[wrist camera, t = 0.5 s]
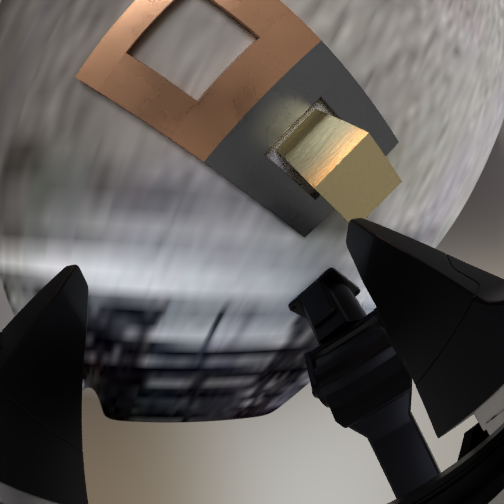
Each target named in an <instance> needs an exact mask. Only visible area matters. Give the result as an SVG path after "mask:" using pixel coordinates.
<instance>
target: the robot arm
mask: <svg viewBox="0 0 504 504" xmlns="http://www.w3.org/2000/svg"><path fill="white" fill-rule="evenodd" d="M346 244H347V247H348V250H349V252H350V254H351V256H352V258H353V261H354V263H355V265H356V267H357V270H358V272H359V274H360V277H361V279H362V281H363V283H364V285H365V287H366V288H367V290H368V292H369V294H370V296H371V297H372V299H373V301H374V303H375V305H376V308H375V309H373V310H374V311H372V312H371V313H369V314H368V315H366V313H365V311H364V310H363V308H362V307H361V305H360V303H359V302H358V300H357V299H356V296H357V295H358V294H359V293H360V289H359V288H358V287H357V286H356V285H355V284H353V283H352V282H351V281H349V280H348V279H347V278H346V277H344V276H343V275H342V274H341V273H339V272H338V271H337V270H335V269H334V268H329V269H328V270H327V271H326V272H324V273H323V274H322V275H321V276H320V277H319V278H318V279H317V280H316V281H315V282H313V283H312V284H311V285H310V286H309V287H308V288H307V289H306V290H305V291H303V292H302V293H301V294H300V295H299V296H298V297H297V298H296V299H294V300H293V301H292V302H291V303H290V304H289V309H290V310H291V311H293V312H295V313H297V314H299V315H301V316H303V317H305V318H307V319H308V321H309V323H310V326H311V328H312V330H313V332H314V334H315V336H316V338H317V341H318V343H319V345H320V346H318V347H316V348H315V349H313V350H311V351H308V352H306V353H304V355H305V359H306V361H305V362H306V366H307V370H308V374H309V378H310V382H311V386H312V394H313V396H314V397H316V398H319V399H320V401H321V402H322V403H323V404H324V405H325V406H326V407H330V409H331V411H332V414H333V416H334V419H335V421H336V422H337V423H339V424H340V425H341V426H343V427H345V428H347V427H349V428H351V429H353V430H354V431H356V432H358V433H360V434H362V435H364V436H365V437H367V438H368V440H369V442H370V444H371V446H372V448H373V450H374V452H375V455H376V456H377V459H378V460H379V462H380V465H381V467H382V469H383V471H384V473H385V475H386V477H387V480H388V482H389V483H390V486H391V488H392V490H393V492H394V494H395V496H396V500H394V501H392V502H390V503H388V504H504V279H502V278H500V277H497V276H495V275H493V274H490V273H488V272H486V271H483V270H481V269H479V268H477V267H474V266H472V265H470V264H467V263H465V262H463V261H461V260H459V259H457V258H454V257H452V256H450V255H448V254H447V255H446V254H445V253H444V252H441V251H439V250H437V249H435V248H433V247H430V246H428V245H426V244H424V243H421V242H419V241H417V240H414V239H412V238H410V237H407V236H405V235H403V234H400V233H398V232H396V231H393V230H391V229H388V228H386V227H383V226H381V225H378V224H376V223H373V222H371V221H368V220H366V219H363V218H355V219H351V220H350V221H349V225H348V231H347V238H346ZM331 272H332V273H331ZM87 307H88V285H87V282H86V280H85V278H84V276H83V274H82V272H81V270H80V268H79V267H78V266H77V265H70V266H66V267H65V268H64V269H63V270H62V271H61V272H59V273H58V274H57V275H56V276H55V277H54V278H53V279H52V280H51V281H50V282H49V283H48V284H47V285H46V286H45V287H44V288H43V289H41V290H40V291H39V292H38V293H37V294H36V295H35V296H34V297H33V298H32V299H31V300H30V301H29V302H28V303H27V304H26V305H25V307H24V308H23V309H22V310H21V311H20V312H19V313H18V314H17V315H16V316H15V317H14V318H13V319H12V320H11V321H10V322H9V324H8V325H7V326H6V327H5V328H4V329H3V330H2V332H0V504H88V499H87V493H86V483H85V474H84V462H83V451H82V412H81V411H82V380H83V364H84V352H85V342H86V332H87ZM412 379H413V381H414V383H415V384H416V388H417V390H418V392H419V395H420V397H421V399H422V401H423V404H424V406H425V408H426V410H427V413H428V416H429V418H430V421H431V423H432V425H433V428H434V430H435V433H436V435H437V437H438V438H440V437H441V436H443V435H444V434H446V433H447V432H449V431H450V430H452V429H453V428H455V427H456V426H458V425H459V424H460V423H462V422H463V421H465V420H466V419H467V418H469V417H470V416H472V415H473V414H474V415H475V417H476V419H477V420H478V423H477V424H476V425H475V426H473V427H472V428H471V429H470V430H468V431H467V432H465V434H464V438H463V442H462V446H461V450H460V454H459V458H458V461H457V462H456V463H455V464H453V465H452V466H451V467H449V468H447V469H446V470H445V471H443V472H442V473H441V472H440V469H439V467H438V465H437V463H436V461H435V459H434V457H433V455H432V452H431V450H430V448H429V446H428V444H427V442H426V440H425V438H424V436H423V434H422V432H421V430H420V428H419V426H418V424H417V423H416V420H415V419H414V417H413V415H412V413H411V396H412Z"/></svg>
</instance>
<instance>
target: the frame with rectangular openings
mask: <svg viewBox="0 0 504 504" xmlns="http://www.w3.org/2000/svg"><path fill="white" fill-rule="evenodd" d="M175 1H176V0H135V1H134V2H133V3H132V5H131V6H130V7H129V8H128V9H127V10H126V11H125V12H124V13H123V14H122V16H121V17H120V18H119V19H118V20H117V21H116V23H115V24H114V25H113V26H112V27H111V29H110V30H109V31H108V32H107V34H106V35H105V36H104V37H103V39H102V40H101V41H100V43H99V44H98V45H97V47H96V48H95V49H94V51H93V52H92V53H91V55H90V56H89V58H88V59H87V61H86V62H85V63H84V65H83V66H82V68H81V69H80V71H79V72H78V74H77V75H76V77H75V78H77V79H79V80H80V81H82V82H84V83H85V84H87V85H89V86H90V87H92V88H93V89H95V90H97V91H98V92H100V93H101V94H103V95H105V96H106V97H108V98H109V99H111V100H113V101H114V102H116V103H117V104H119V105H120V106H122V107H123V108H125V109H127V110H128V111H130V112H131V113H133V114H134V115H136V116H137V117H139V118H140V119H142V120H143V121H145V122H146V123H148V124H149V125H151V126H152V127H154V128H155V129H157V130H158V131H160V132H161V133H163V134H164V135H166V136H167V137H169V138H170V139H171V140H173V141H174V142H176V143H177V144H179V145H180V146H182V147H183V148H185V149H186V150H187V151H189V152H190V153H192V154H193V155H195V156H196V157H197V158H199V159H200V160H202V161H203V162H204V163H206V164H207V165H209V166H210V167H211V168H213V169H214V170H216V171H217V172H218V173H220V174H221V175H223V176H224V177H225V178H227V179H228V180H229V181H231V182H232V183H234V184H235V185H236V186H238V187H239V188H240V189H242V190H243V191H244V192H246V193H247V194H249V195H250V196H251V197H253V198H254V199H255V200H257V201H258V202H259V203H261V204H262V205H263V206H265V207H266V208H267V209H269V210H270V211H271V212H272V213H274V214H275V215H276V216H278V217H279V218H280V219H282V220H283V221H284V222H286V223H287V224H288V225H289V226H291V227H292V228H293V229H295V230H296V231H297V232H298V233H300V234H301V235H302V236H304V237H306V236H307V235H308V234H309V233H310V232H311V231H312V230H313V229H314V228H315V227H316V226H317V225H318V224H319V223H320V222H321V221H322V220H323V219H324V218H325V217H326V216H327V215H328V214H329V213H330V212H331V211H332V210H333V209H334V207H333V206H332V205H331V204H330V203H329V202H328V201H327V200H326V199H325V198H324V197H323V196H322V195H321V194H320V193H319V192H318V191H316V192H315V193H314V194H313V195H312V196H311V195H310V194H309V193H308V192H307V191H306V190H305V189H303V188H302V187H301V186H300V185H299V184H298V183H297V182H296V181H295V180H293V179H292V178H291V177H290V176H289V175H288V174H287V173H286V172H284V171H283V170H282V169H281V168H280V167H279V166H278V165H276V164H275V163H274V162H273V161H272V160H271V159H269V158H268V157H267V156H266V155H265V153H266V152H267V151H268V150H269V149H270V148H271V147H272V146H273V145H274V143H275V142H276V141H277V140H278V139H279V138H280V137H281V136H282V135H283V134H284V133H285V132H286V131H287V130H288V129H289V128H290V127H291V126H292V125H293V124H294V123H295V122H296V121H297V120H298V119H299V118H300V117H301V116H302V115H303V114H304V113H305V112H306V111H307V110H308V109H309V108H310V107H311V106H312V105H313V104H314V103H315V102H316V101H317V100H318V99H319V98H320V99H321V100H322V102H323V103H324V104H325V105H326V106H327V107H328V108H329V109H330V110H331V112H332V113H333V114H334V115H335V116H336V117H337V118H338V119H340V120H343V121H345V122H347V123H349V124H351V125H354V126H356V127H358V128H360V129H362V130H364V131H366V132H368V133H369V134H370V135H371V137H372V138H373V139H374V141H375V142H376V143H377V145H378V146H379V148H380V149H381V151H382V152H383V154H384V155H385V156H386V155H387V154H388V153H389V152H390V151H391V150H392V149H393V148H394V147H395V146H396V145H397V143H398V140H397V138H396V137H395V135H394V134H393V132H392V131H391V129H390V128H389V126H388V125H387V123H386V122H385V120H384V119H383V117H382V116H381V114H380V113H379V111H378V110H377V108H376V107H375V106H374V104H373V103H372V101H371V100H370V99H369V97H368V96H367V95H366V93H365V92H364V91H363V89H362V88H361V87H360V85H359V84H358V83H357V82H356V80H355V79H354V78H353V77H352V75H351V74H350V73H349V72H348V70H347V69H346V68H345V67H344V66H343V64H342V63H341V62H340V61H339V60H338V59H337V57H336V56H335V55H334V54H333V53H332V52H331V51H330V49H329V48H328V47H327V46H326V45H325V44H324V43H323V42H322V41H321V40H320V39H319V38H318V37H317V35H316V34H315V33H314V32H313V31H312V30H311V29H310V28H309V27H308V26H307V25H306V24H305V23H304V22H303V21H302V20H301V19H300V18H298V17H297V16H296V15H295V14H294V13H293V12H292V11H291V10H290V9H289V8H288V7H287V6H286V5H284V4H283V3H282V2H281V1H280V0H209V1H210V2H212V3H213V4H215V5H216V6H217V7H219V8H220V9H221V10H223V11H224V12H225V13H227V14H228V15H229V16H231V17H232V18H233V19H235V20H236V21H237V22H238V23H240V24H241V25H242V26H243V27H245V28H246V29H247V30H248V31H249V32H251V33H252V34H253V35H254V36H255V37H257V39H256V40H255V41H254V42H253V43H252V44H251V45H250V46H249V47H248V48H247V49H246V50H245V51H244V52H242V53H241V54H240V55H239V56H238V57H237V58H236V59H235V60H234V61H233V62H232V63H231V64H230V66H229V67H228V68H227V69H226V70H225V71H224V72H223V73H222V74H221V75H220V76H219V77H218V78H217V79H216V80H215V81H214V82H213V84H212V85H211V86H210V87H209V88H208V89H207V90H206V91H205V92H204V94H203V95H202V96H201V97H200V98H199V99H198V100H195V99H194V98H192V97H191V96H190V95H188V94H187V93H186V92H184V91H183V90H181V89H180V88H179V87H177V86H176V85H174V84H173V83H171V82H170V81H169V80H167V79H166V78H164V77H163V76H161V75H160V74H158V73H157V72H155V71H154V70H152V69H151V68H149V67H148V66H146V65H145V64H143V63H142V62H140V61H139V60H137V59H136V58H134V57H133V56H131V55H129V54H128V52H129V51H130V50H131V48H132V47H133V46H134V45H135V44H136V42H137V41H138V40H139V39H140V38H141V37H142V35H143V34H144V33H145V32H146V31H147V30H148V29H149V28H150V26H151V25H152V24H153V23H154V22H155V21H156V20H157V19H158V18H159V17H160V16H161V15H162V14H163V13H164V12H165V11H166V10H167V9H168V8H169V7H170V6H171V5H172V4H173V3H174V2H175Z"/></svg>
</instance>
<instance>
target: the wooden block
mask: <svg viewBox="0 0 504 504" xmlns="http://www.w3.org/2000/svg"><path fill="white" fill-rule="evenodd" d="M276 151H277V152H278V153H279V154H281V155H282V156H283V157H284V158H285V159H286V160H287V161H288V162H289V163H290V164H291V165H292V166H293V167H294V168H295V169H296V170H297V171H298V172H299V173H300V174H301V175H302V176H303V177H304V178H305V179H306V180H307V181H308V182H309V183H310V184H311V186H312V187H313V188H314V189H315V190H316V191H318V192H319V193H320V194H321V195H322V196H323V197H324V198H325V199H326V200H327V201H328V202H329V203H330V204H331V205H332V206H333V207H334V208H335V209H336V210H337V211H338V212H339V213H340V214H341V215H342V216H343V217H344V218H345V219H346V220H347V221H348V222H349V221H350V220H351V219H355V218H363V219H365V218H366V217H367V216H368V215H369V214H370V213H371V212H372V211H373V210H374V209H375V208H376V207H377V206H378V205H379V204H380V203H381V202H382V201H383V200H384V199H385V198H386V197H387V196H388V195H389V194H390V193H391V192H392V191H393V190H394V189H395V188H396V187H397V186H398V185H399V184H400V183H401V182H402V181H401V179H400V178H399V176H398V175H397V173H396V172H395V170H394V168H393V167H392V165H391V164H390V162H389V161H388V159H387V158H386V156H385V155H384V154H383V152H382V151H381V149H380V148H379V146H378V145H377V143H376V142H375V141H374V139H373V138H372V137H371V135H370V134H369V133H368V132H366V131H364V130H362V129H360V128H358V127H356V126H354V125H351V124H349V123H347V122H345V121H343V120H340V119H338V118H336V117H334V116H331V115H329V114H327V113H324V112H322V111H319V110H317V109H315V110H314V111H313V112H312V113H311V114H310V115H309V116H308V117H307V118H306V119H305V120H304V121H303V122H302V123H301V124H300V125H299V126H298V127H297V128H296V129H295V130H294V131H293V132H292V133H291V135H290V136H289V137H288V138H287V139H286V140H285V141H284V142H283V143H282V144H281V145H280V146H279V147H278V148H277V149H276Z"/></svg>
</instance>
